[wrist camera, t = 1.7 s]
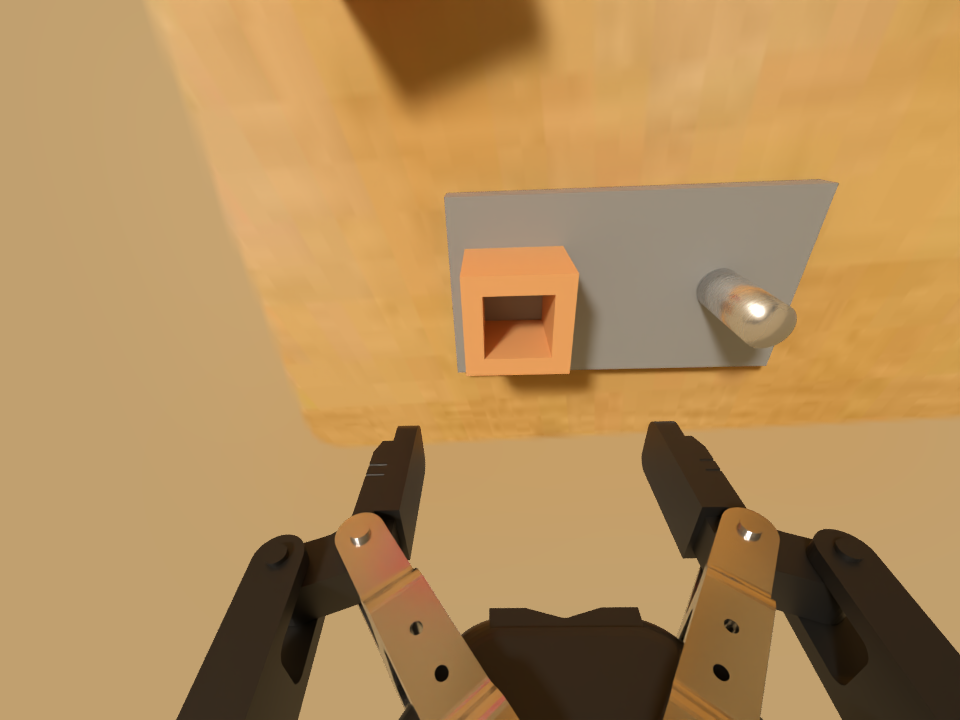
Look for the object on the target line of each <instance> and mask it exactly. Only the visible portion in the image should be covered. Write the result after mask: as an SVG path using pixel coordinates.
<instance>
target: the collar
mask: <svg viewBox="0 0 960 720" xmlns="http://www.w3.org/2000/svg"><path fill="white" fill-rule="evenodd" d="M578 281H579V272H578V271H577V269H576V267H575V265H574V264H573V262H572V260H571V258H570V257H569V255H568V253H567V252H566V250H565V248H564V246H544V247H512V248H481V249H465V250H464V255H463V261H462V267H461V272H460V290H461V305H462V320H463V335H464V351H465V366H466V376H485V375H532V374H570V365H571V354H572V344H573V333H574V323H575V313H576V302H577V292H578ZM531 295H543V299H542V319H539V320H500V321H485V306H484V297H495V296H531Z"/></svg>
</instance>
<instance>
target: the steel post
mask: <svg viewBox="0 0 960 720" xmlns="http://www.w3.org/2000/svg"><path fill="white" fill-rule="evenodd" d="M696 296H697V299H698V301H699V302H700V303H701V304H702V305H703V306H705V307H706V308H707V309H708V310H709V311H710V312H711V313H712V314H714V315H715V316H716V317H717V318H718V319H719V320H720V321H722V322H723V323H724V324H725V325H726V326H727V327H728V328H730V329H731V330H732V331H733V332H734V333H735V334H736V335H738V336H739V337H740V338H741V339H742V340H743V341H744V342H745V343H747V344H748V345H749V346H751V347H754V348H768V347H772V346H774V345H776V344H778V343H780V342H782V341H783V340H784V339H786V338H787V337H788V336H789V335H790V334H791V332H792V331H793V329H794V327H795V325H796V321H797V316H796V312H795V311H794V309H793V308H792V307H790V306H789V305H787V304H786V303H784V302H782V301H781V300H779V299H778V298H776V297H774V296H773V295H771V294H770V293H768V292H766V291H765V290H763V289H762V288H760V287H759V286H757V285H755V284H754V283H752V282H751V281H749V280H747V279H746V278H744V277H743V276H741V275H739V274H738V273H736V272H735V271H733V270H731V269H728V268H720V269H716V270H713V271H711V272H709V273H708V274H707V275H705V276H704V277H703V278H702V280H701V281H700V282H699V284H698V286H697V290H696Z"/></svg>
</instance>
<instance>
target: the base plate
mask: <svg viewBox="0 0 960 720" xmlns="http://www.w3.org/2000/svg"><path fill="white" fill-rule="evenodd" d="M838 184H839V183H836V182H831V181H825V180H820V179H817V180H790V181H763V182H736V183H709V184H681V185H654V186H627V187H600V188H573V189H546V190H519V191H492V192H464V193H446V195H445V197H444V200H445V213H446V226H447V239H448V251H449V264H450V277H451V290H452V302H453V315H454V328H455V341H456V353H457V366H458V372H466V366H465V351H464V335H463V320H462V305H461V290H460V272H461V267H462V261H463V255H464V250H465V249H481V248H512V247H544V246H564V248H565V250H566V252H567V253H568V255H569V257H570V258H571V260H572V262H573V264H574V265H575V267H576V269H577V271H578V272H579V281H578V292H577V302H576V313H575V323H574V333H573V344H572V354H571V365H570V370H590V369H637V368H684V367H730V366H766V365H767V362H768V360H769V357H770V355H771V352H772V350H773V347H774V346H772V347H768V348H754V347H751V346H749V345H748V344H747V343H745V342H744V341H743V340H742V339H741V338H740V337H739V336H738V335H736V334H735V333H734V332H733V331H732V330H731V329H730V328H728V327H727V326H726V325H725V324H724V323H723V322H722V321H720V320H719V319H718V318H717V317H716V316H715V315H714V314H712V313H711V312H710V311H709V310H708V309H707V308H706V307H705V306H703V305H702V304H701V303H700V302H699V301H698V299H697V296H696V290H697V286H698V284H699V282H700V281H701V280H702V278H703V277H704V276H705V275H707V274H708V273H709V272H711V271H713V270H716V269H720V268H728V269H731V270H733V271H735V272H736V273H738V274H739V275H741V276H743V277H744V278H746V279H747V280H749V281H751V282H752V283H754V284H755V285H757V286H759V287H760V288H762V289H763V290H765V291H766V292H768V293H770V294H771V295H773V296H774V297H776V298H778V299H779V300H781V301H782V302H784V303H786V304H787V305H789V306H790V304H791V302H792V299H793V297H794V294H795V292H796V289H797V287H798V284H799V282H800V279H801V277H802V274H803V272H804V269H805V267H806V264H807V262H808V259H809V257H810V254H811V252H812V249H813V247H814V244H815V242H816V239H817V237H818V234H819V232H820V229H821V227H822V224H823V222H824V219H825V217H826V214H827V212H828V209H829V206H830V204H831V201H832V199H833V196H834V194H835V191H836V189H837V186H838ZM542 299H543V295H531V296H495V297H484V306H485V321H500V320H539V319H542Z"/></svg>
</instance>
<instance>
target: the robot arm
mask: <svg viewBox="0 0 960 720" xmlns="http://www.w3.org/2000/svg"><path fill="white" fill-rule="evenodd" d="M642 466H643V470H644V473H645V475H646V477H647V480H648V482H649V484H650V486H651V489H652V491H653V493H654V495H655V497H656V499H657V502H658V504H659V506H660V509H661V510H662V513H663V515H664V517H665V520H666V522H667V524H668V526H669V529H670V531H671V533H672V535H673V537H674V540H675V542H676V544H677V546H678V549H679V551H680V553H681V555H682V557H683V558H697V560H698V562H699V564H700V568H699V571H698V574H697V577H696V580H695V583H694V586H693V589H692V592H691V595H690V598H689V602H688V605H687V608H686V611H685V614H684V617H683V621H682V623H681V626H680V629H679V631H678V634H677V637H675V636H673V635H672V634H670V633H669V632H667V631H666V630H664V629H662V628H660V627H658V626H657V625H654V624H652V623H649V622H647V621H643V620H641V616H640V613H639V610H638V608H637V607H615V608H614V607H613V608H598V609H595V610H592V611H588V612H585V613H582V614H578V615H575V616H572V617H569V618H561V617H557V616H553V615H549V614H545V613H542V612H538V611H534V610H530V609H527V608H490V610H489V612H490V613H489V614H490V616H489V620H488V621H484V622H481V623H480V624H477V625H475V626H473V627H471V628H470V629H468V630H467V631H465V632H464V633H463V634H462V635H461V634H460V633H459V631H458V630H457V628H456V626H455V625H454V623H453V622H452V620H451V619H450V617H449V615H448V614H447V612H446V611H445V609H444V608H443V606H442V605H441V603H440V601H439V600H438V599H437V597H436V596H435V594H434V592H433V591H432V589H431V587H430V586H429V584H428V583H427V581H426V580H425V578H424V576H423V575H422V574H421V572H420V571H419V570H418V569H417V568H415V569H413V568H412V566H411V565H410V563H409V562H408V560H410V556H411V550H412V544H413V538H414V532H415V527H416V521H417V516H418V510H419V503H420V498H421V492H422V486H423V480H424V474H425V456H424V448H423V442H422V435H421V429H420V426H398V428H397V431H396V434H395V438H394V441H383V442H382V443H381V444H380V445H379V446H378V448H377V449H376V450H375V451H374V452H373V456H372V458H371V461H370V466H369V468H368V470H367V473H366V477H365V479H364V482H363V486H362V488H361V491H360V494H359V497H358V500H357V503H356V506H355V509H354V512H353V514H352V516H351V517H350V518H348V519H347V520H345V521H344V522H343V523H342V525H341V526H340V527H339V528H338V530H337V531H336V532H335V533H333V534H331V535H329V536H326V537H323V538H320V539H316V540H313V541H310V542H306V543H303V541H302V540H301V539H300V538H299V537H297V536H295V535H281V536H278V537H276V538H273V539H271V540H269V541H268V542H266V543H265V544H264V545H262V546H261V547H260V548H259V549H258V550H257V551H256V553H255V554H254V556H253V557H252V559H251V561H250V564H249V566H248V568H247V570H246V572H245V574H244V576H243V578H242V581H241V583H240V585H239V587H238V589H237V591H236V593H235V596H234V598H233V600H232V602H231V604H230V606H229V608H228V610H227V613H226V615H225V617H224V619H223V621H222V623H221V626H220V628H219V630H218V632H217V634H216V636H215V638H214V640H213V643H212V645H211V647H210V649H209V651H208V653H207V655H206V657H205V660H204V662H203V664H202V666H201V668H200V670H199V673H198V675H197V677H196V679H195V681H194V684H193V685H192V688H191V689H190V692H189V694H188V696H187V698H186V700H185V703H184V704H183V707H182V709H181V711H180V713H179V715H178V717H177V719H176V720H298V717H299V713H300V710H301V706H302V702H303V698H304V694H305V691H306V687H307V683H308V679H309V676H310V672H311V668H312V664H313V661H314V657H315V653H316V649H317V645H318V642H319V638H320V634H321V630H322V627H323V623H324V619H325V616H326V615H329V614H332V613H334V612H337V611H340V610H343V609H346V608H349V607H351V606H354V605H358V607H359V609H360V611H361V613H362V616H363V618H364V620H365V622H366V624H367V626H368V629H369V631H370V633H371V635H372V637H373V639H374V642H375V644H376V646H377V648H378V650H379V652H380V655H381V657H382V659H383V662H384V664H385V666H386V669H387V671H388V673H389V676H390V678H391V681H392V683H393V685H394V687H395V689H396V692H397V693H398V696H399V698H400V700H401V702H402V705H403V707H404V709H405V711H404V713H403V714H402V715H401V717H400V718H399V720H763V719H762V718H761V717H760V715H761V708H762V701H763V694H764V687H765V681H766V673H767V667H768V659H769V653H770V646H771V639H772V632H773V625H774V618H775V611H776V610H780V611H783V612H784V614H785V616H786V618H787V619H788V621H789V623H790V625H791V627H792V629H793V630H794V632H795V634H796V636H797V638H798V639H799V641H800V643H801V645H802V647H803V649H804V651H805V652H806V654H807V656H808V658H809V660H810V661H811V663H812V665H813V667H814V669H815V671H816V673H817V674H818V676H819V678H820V680H821V682H822V683H823V685H824V687H825V689H826V691H827V693H828V695H829V696H830V698H831V700H832V702H833V704H834V706H835V707H836V709H837V711H838V713H839V715H840V717H841V718H842V720H960V655H959V653H958V652H957V651H956V650H955V648H954V647H953V646H952V645H951V644H950V642H949V641H948V640H947V639H946V637H945V636H944V635H943V634H942V633H941V631H940V630H939V629H938V628H937V627H936V626H935V624H934V623H933V622H932V621H931V619H930V618H929V617H928V616H927V615H926V614H925V612H924V611H923V610H922V609H921V607H920V606H919V605H918V604H917V603H916V601H915V600H914V599H913V598H912V597H911V596H910V594H909V593H908V592H907V591H906V589H905V588H904V587H903V586H902V585H901V583H900V582H899V581H898V580H897V579H896V577H895V576H894V575H893V574H892V572H891V571H890V570H889V569H888V568H887V566H886V565H885V564H884V563H883V562H882V561H881V559H880V558H879V557H878V556H877V554H876V553H875V552H874V551H873V550H872V549H871V548H870V547H868V545H866V544H865V543H864V542H862V541H861V540H859V539H857V538H856V537H854V536H852V535H850V534H847V533H845V532H842V531H838V530H833V529H824V530H820V531H818V532H817V533H816V534H815V536H814V538H813V539H809V538H805V537H801V536H797V535H793V534H789V533H785V532H782V531H778V530H776V528H775V527H774V526H773V524H772V523H771V522H770V521H769V520H767V519H766V518H764V517H763V516H762V515H760V514H758V513H756V512H754V511H752V510H749V509H747V508H746V507H745V505H744V504H743V502H742V501H741V500H740V498H739V496H738V495H737V493H736V492H735V490H734V489H733V487H732V486H731V485H730V483H729V481H728V480H727V478H726V477H725V475H724V474H723V473H722V471H720V468H719V467H718V465H717V464H716V462H715V461H713V458H712V456H711V455H710V453H709V452H708V450H707V449H706V447H705V446H704V445H702V444H701V443H700V442H699V441H697V440H696V439H695V438H694V437H692V436H684V434H683V432H682V431H681V429H680V428H679V426H678V425H677V423H676V422H674V421H660V422H651V423H650V424H649V427H648V431H647V435H646V439H645V443H644V448H643V452H642Z"/></svg>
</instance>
